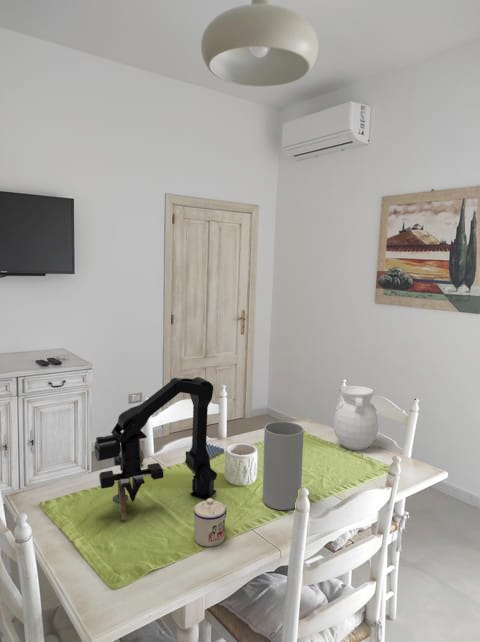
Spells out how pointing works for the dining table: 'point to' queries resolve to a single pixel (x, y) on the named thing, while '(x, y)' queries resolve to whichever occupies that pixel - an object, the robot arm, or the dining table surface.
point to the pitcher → (356, 418)
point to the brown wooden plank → (122, 501)
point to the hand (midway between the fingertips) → (132, 501)
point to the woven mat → (213, 451)
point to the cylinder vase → (282, 464)
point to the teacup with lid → (209, 523)
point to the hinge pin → (116, 497)
